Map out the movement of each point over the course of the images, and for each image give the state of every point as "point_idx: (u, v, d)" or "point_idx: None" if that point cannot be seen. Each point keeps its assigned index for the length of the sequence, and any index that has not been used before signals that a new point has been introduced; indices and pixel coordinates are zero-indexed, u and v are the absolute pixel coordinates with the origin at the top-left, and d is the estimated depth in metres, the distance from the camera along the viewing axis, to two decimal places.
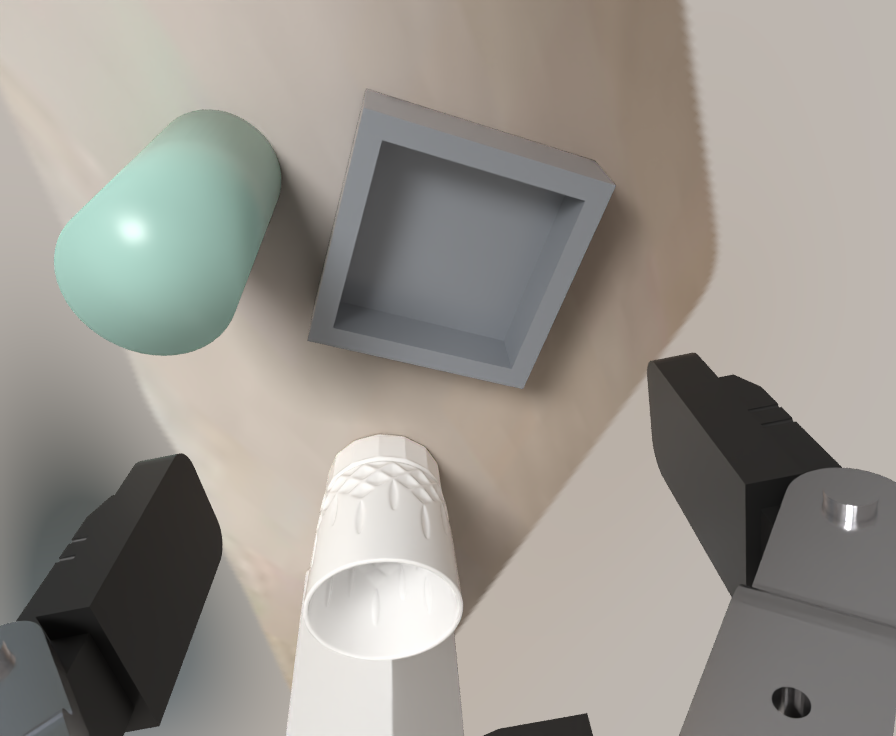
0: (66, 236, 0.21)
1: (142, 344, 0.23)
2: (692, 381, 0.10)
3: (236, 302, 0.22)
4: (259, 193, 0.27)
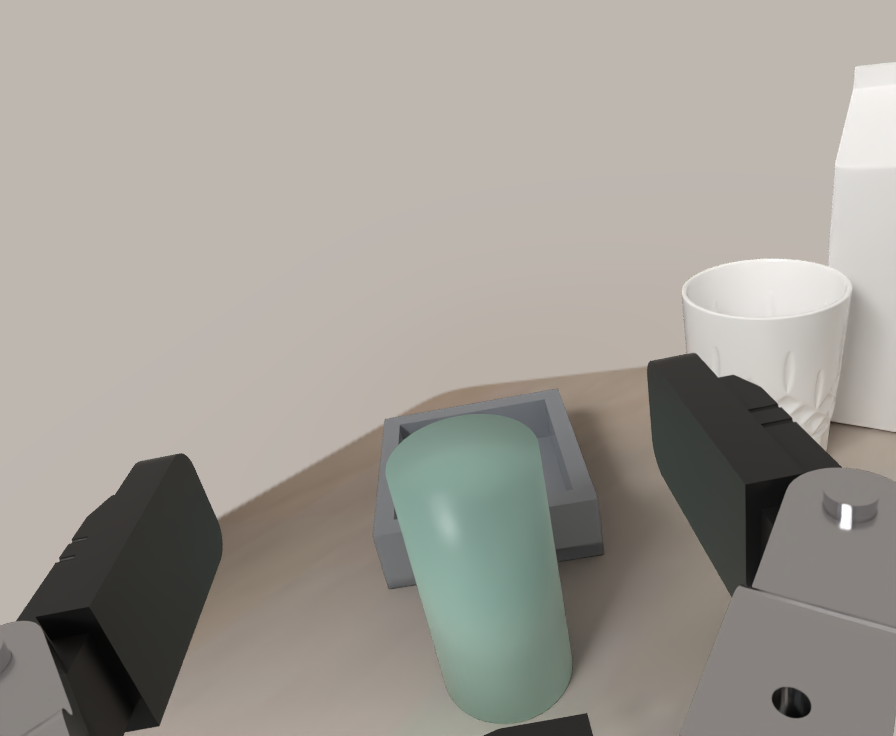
0: (437, 503, 0.22)
1: (528, 444, 0.24)
2: (692, 381, 0.10)
3: (458, 416, 0.27)
4: None
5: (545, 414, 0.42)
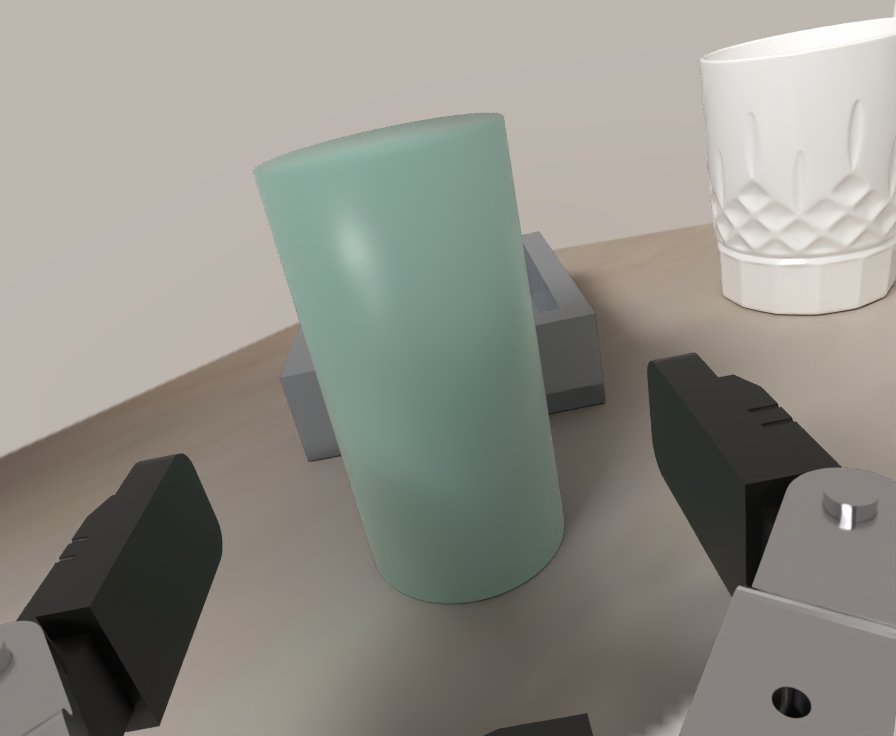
0: (325, 167, 0.13)
1: (487, 119, 0.15)
2: (692, 381, 0.10)
3: (382, 128, 0.18)
4: None
5: None
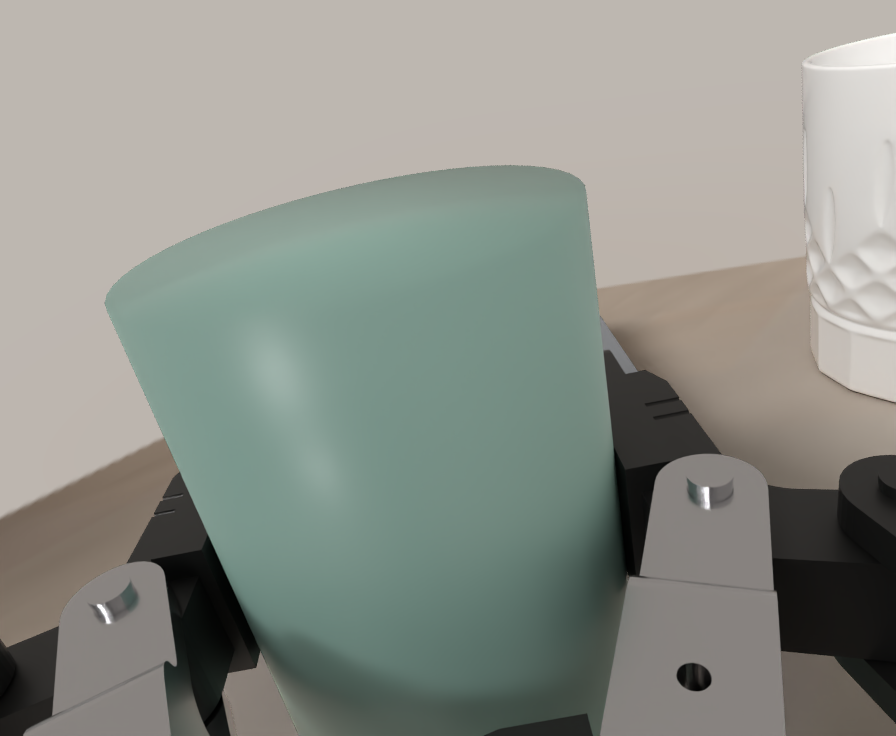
0: (225, 319, 0.06)
1: (550, 186, 0.08)
2: None
3: (362, 185, 0.11)
4: None
5: None
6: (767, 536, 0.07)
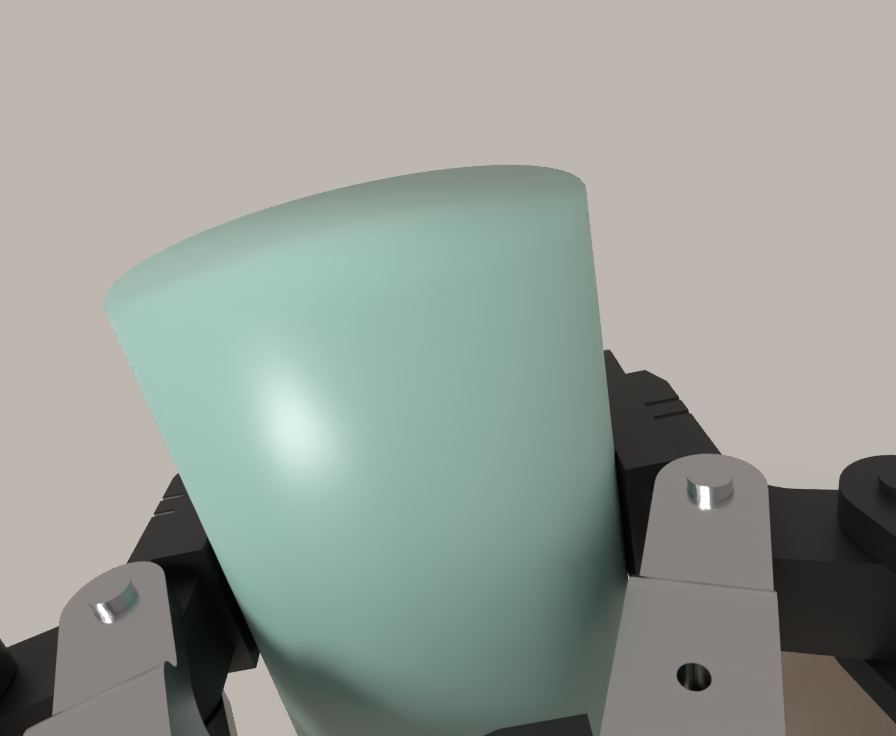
0: (223, 319, 0.06)
1: (550, 186, 0.08)
2: None
3: (361, 185, 0.11)
4: None
5: None
6: (767, 536, 0.07)
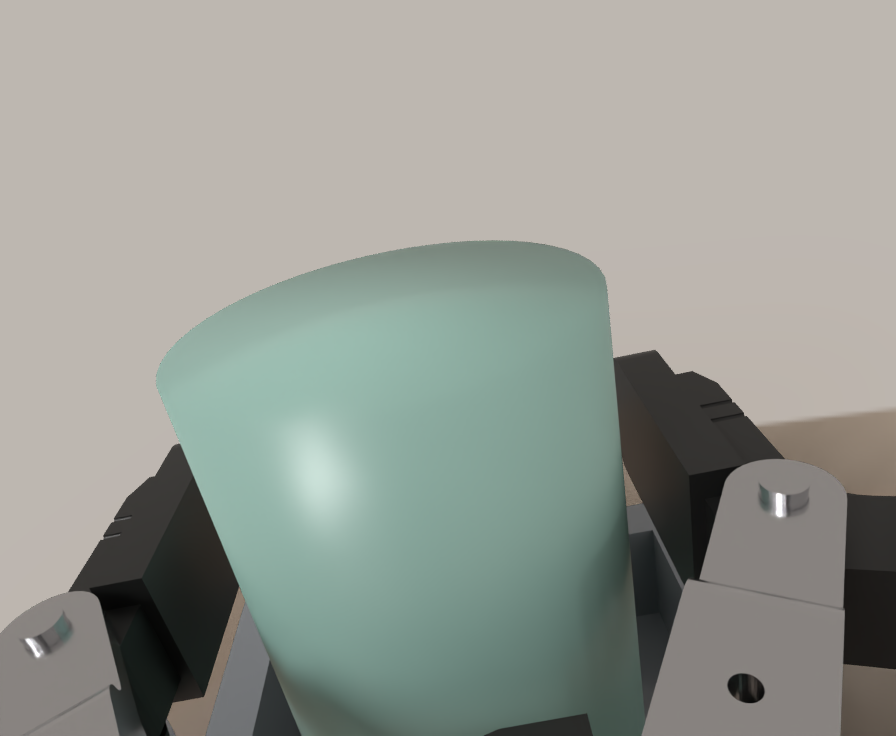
0: (278, 417, 0.06)
1: (571, 274, 0.09)
2: (649, 377, 0.10)
3: (388, 253, 0.11)
4: None
5: (652, 564, 0.17)
6: (841, 551, 0.07)
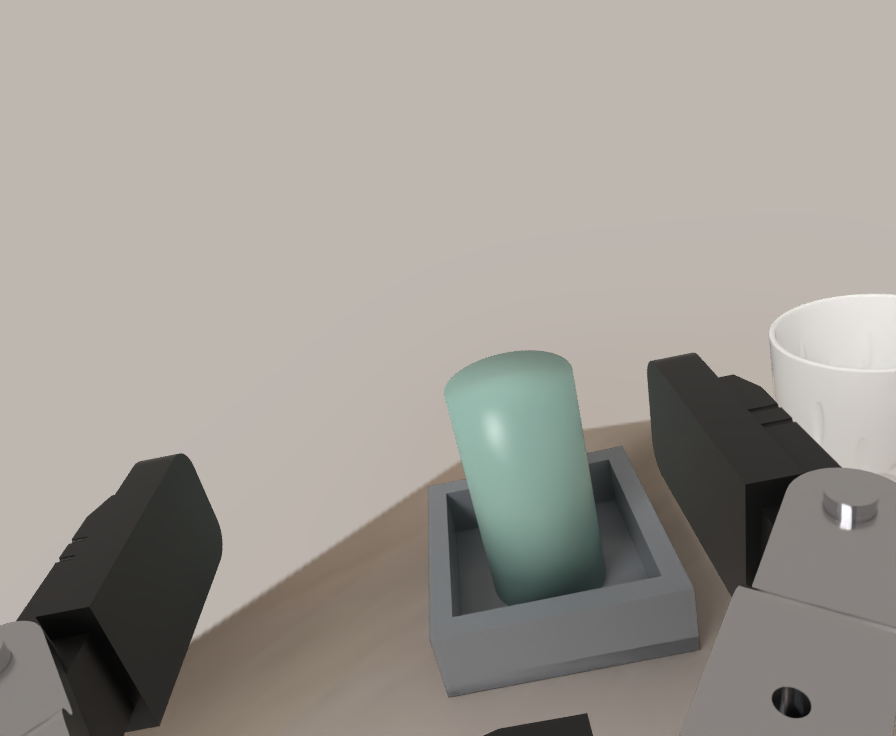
0: (492, 411, 0.27)
1: (563, 367, 0.29)
2: (692, 381, 0.10)
3: (500, 354, 0.32)
4: None
5: (609, 476, 0.37)
6: None
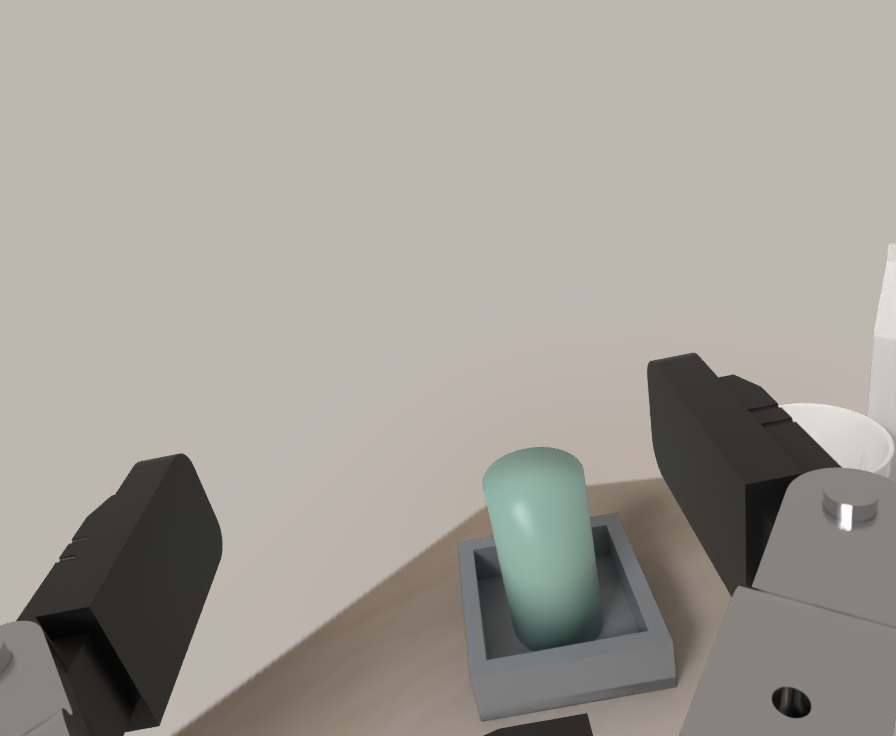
0: (523, 506, 0.35)
1: (576, 467, 0.38)
2: (692, 381, 0.10)
3: (524, 449, 0.40)
4: None
5: (606, 537, 0.46)
6: None
